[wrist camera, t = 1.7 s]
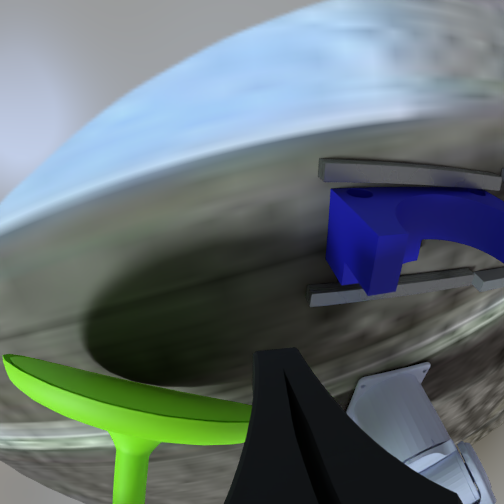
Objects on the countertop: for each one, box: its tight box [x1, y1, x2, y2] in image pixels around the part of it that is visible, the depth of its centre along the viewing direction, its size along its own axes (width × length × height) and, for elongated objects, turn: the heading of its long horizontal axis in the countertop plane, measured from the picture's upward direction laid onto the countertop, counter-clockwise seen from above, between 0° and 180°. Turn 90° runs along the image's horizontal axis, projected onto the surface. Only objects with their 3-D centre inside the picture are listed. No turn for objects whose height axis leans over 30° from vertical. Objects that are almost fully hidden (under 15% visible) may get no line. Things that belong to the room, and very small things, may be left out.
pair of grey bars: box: [306, 159, 502, 307], centre depth 19 cm, size 9×14×1 cm, turn 90°
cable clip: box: [326, 187, 504, 296], centre depth 17 cm, size 12×4×6 cm, turn 92°
